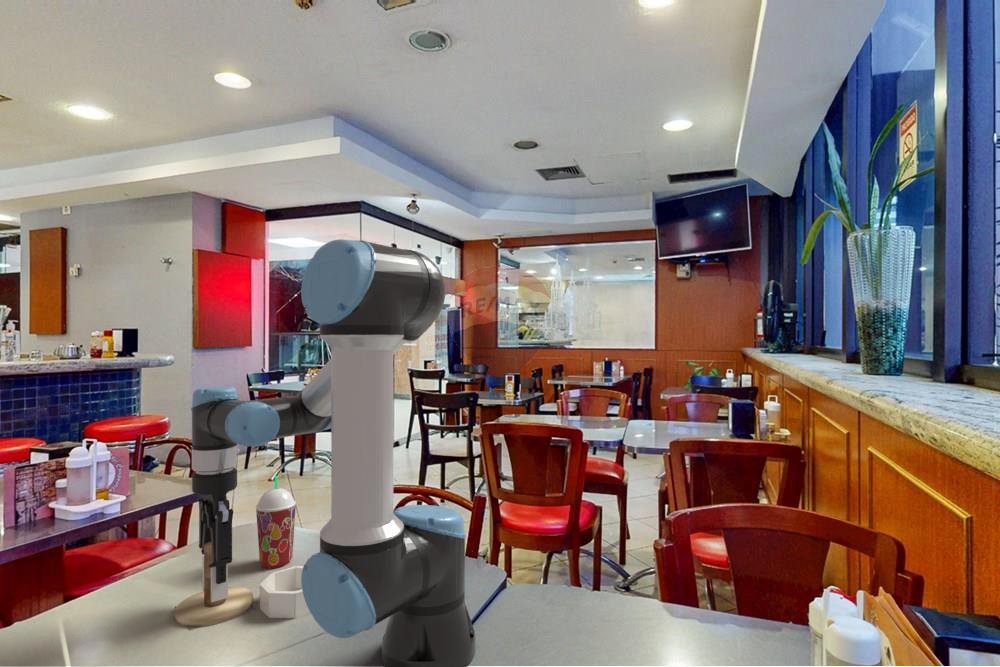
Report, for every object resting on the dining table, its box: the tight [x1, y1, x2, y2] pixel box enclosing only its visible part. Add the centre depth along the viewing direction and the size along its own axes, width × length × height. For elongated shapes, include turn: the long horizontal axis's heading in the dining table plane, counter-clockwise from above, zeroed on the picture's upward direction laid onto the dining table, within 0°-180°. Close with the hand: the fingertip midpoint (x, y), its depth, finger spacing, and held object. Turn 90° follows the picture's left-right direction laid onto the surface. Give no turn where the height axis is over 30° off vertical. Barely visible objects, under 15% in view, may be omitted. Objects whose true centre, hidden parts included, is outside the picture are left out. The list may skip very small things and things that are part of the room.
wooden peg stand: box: [174, 542, 254, 627], centre depth 102 cm, size 13×13×12 cm
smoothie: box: [255, 475, 297, 569], centre depth 122 cm, size 8×8×20 cm
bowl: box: [259, 565, 311, 619], centre depth 104 cm, size 12×12×5 cm
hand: (215, 593), depth 102 cm, fingers open, 5 cm apart
